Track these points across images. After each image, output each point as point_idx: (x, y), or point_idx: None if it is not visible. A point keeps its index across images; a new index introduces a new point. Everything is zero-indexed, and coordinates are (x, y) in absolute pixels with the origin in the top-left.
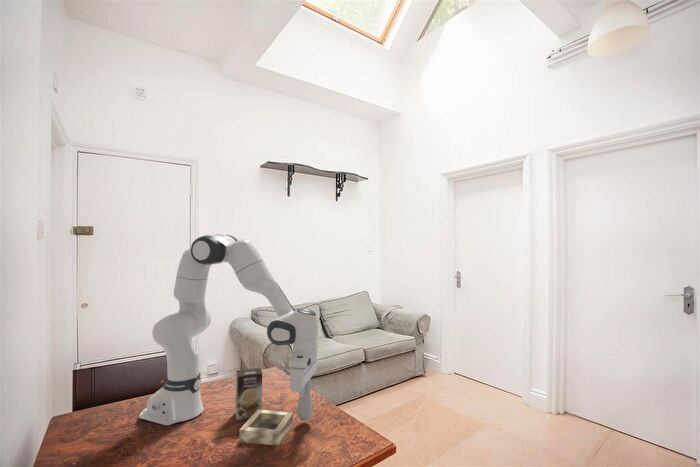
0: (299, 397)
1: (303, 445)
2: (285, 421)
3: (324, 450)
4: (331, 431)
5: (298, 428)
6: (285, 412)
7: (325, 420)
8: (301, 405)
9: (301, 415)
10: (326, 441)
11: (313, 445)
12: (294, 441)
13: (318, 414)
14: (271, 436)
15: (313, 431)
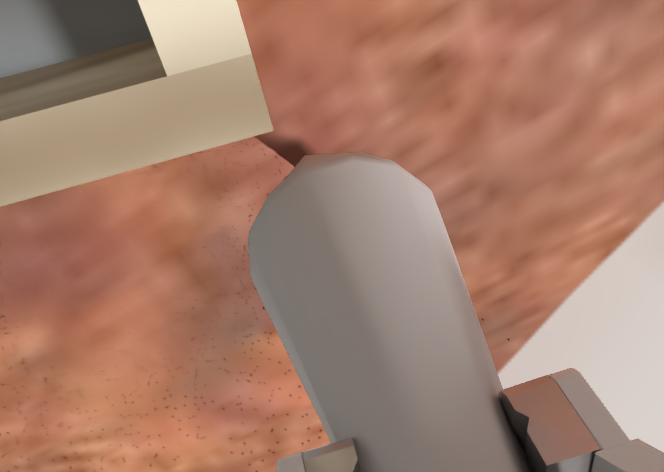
0: (360, 335)
1: (27, 343)
2: (29, 176)
3: (83, 455)
4: (302, 384)
5: (215, 173)
6: (230, 23)
7: None
8: (285, 331)
9: (250, 265)
10: (177, 418)
11: (80, 388)
12: (16, 262)
13: (504, 194)
14: None
15: (241, 298)
